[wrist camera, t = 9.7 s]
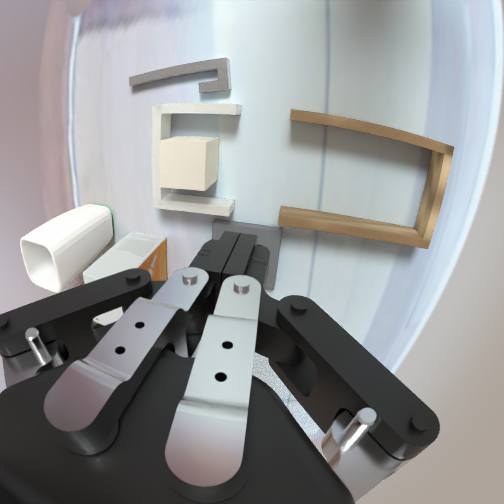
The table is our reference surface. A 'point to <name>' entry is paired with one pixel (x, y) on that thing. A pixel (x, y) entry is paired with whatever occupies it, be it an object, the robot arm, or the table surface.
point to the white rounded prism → (66, 245)
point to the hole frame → (266, 238)
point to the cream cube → (189, 162)
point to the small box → (129, 263)
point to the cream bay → (159, 132)
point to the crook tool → (190, 68)
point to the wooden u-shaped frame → (370, 228)
